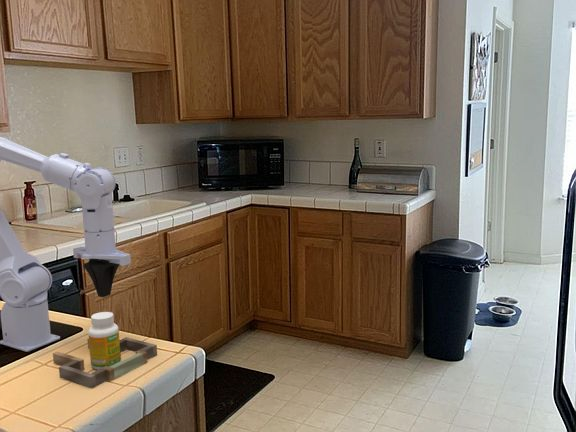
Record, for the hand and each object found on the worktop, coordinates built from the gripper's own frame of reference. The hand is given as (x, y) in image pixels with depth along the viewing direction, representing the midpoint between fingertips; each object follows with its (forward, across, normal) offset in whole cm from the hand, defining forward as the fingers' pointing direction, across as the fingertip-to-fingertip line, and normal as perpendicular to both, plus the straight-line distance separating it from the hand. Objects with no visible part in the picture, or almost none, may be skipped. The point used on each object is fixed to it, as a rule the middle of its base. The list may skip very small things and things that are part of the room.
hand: (104, 295), depth 112 cm
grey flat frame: (+10, +6, -7) cm, 14 cm away
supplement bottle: (+11, +7, -7) cm, 15 cm away
